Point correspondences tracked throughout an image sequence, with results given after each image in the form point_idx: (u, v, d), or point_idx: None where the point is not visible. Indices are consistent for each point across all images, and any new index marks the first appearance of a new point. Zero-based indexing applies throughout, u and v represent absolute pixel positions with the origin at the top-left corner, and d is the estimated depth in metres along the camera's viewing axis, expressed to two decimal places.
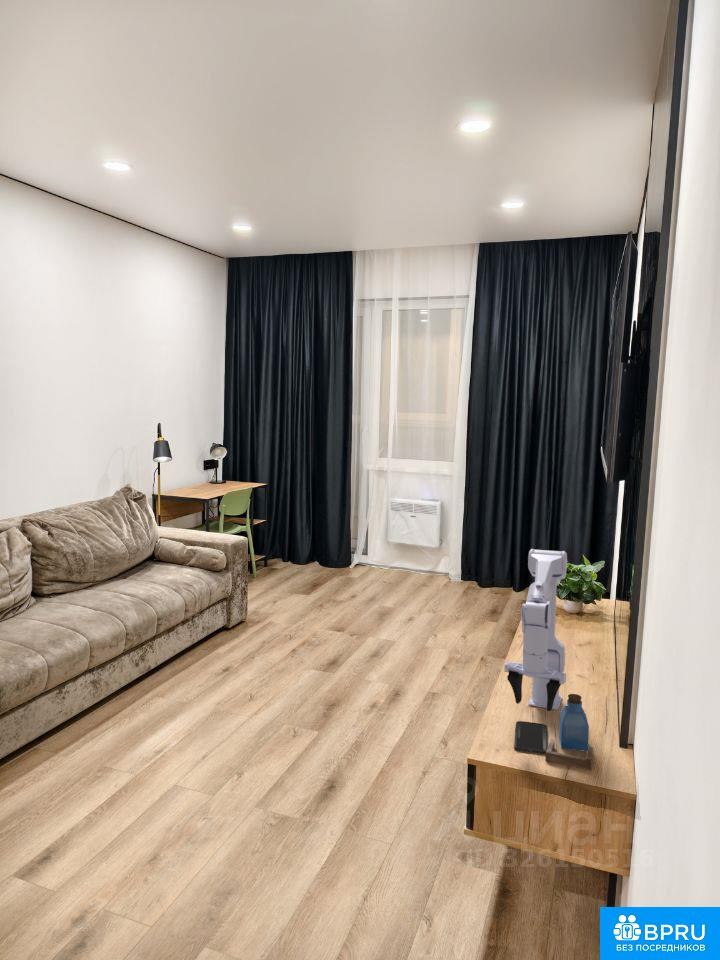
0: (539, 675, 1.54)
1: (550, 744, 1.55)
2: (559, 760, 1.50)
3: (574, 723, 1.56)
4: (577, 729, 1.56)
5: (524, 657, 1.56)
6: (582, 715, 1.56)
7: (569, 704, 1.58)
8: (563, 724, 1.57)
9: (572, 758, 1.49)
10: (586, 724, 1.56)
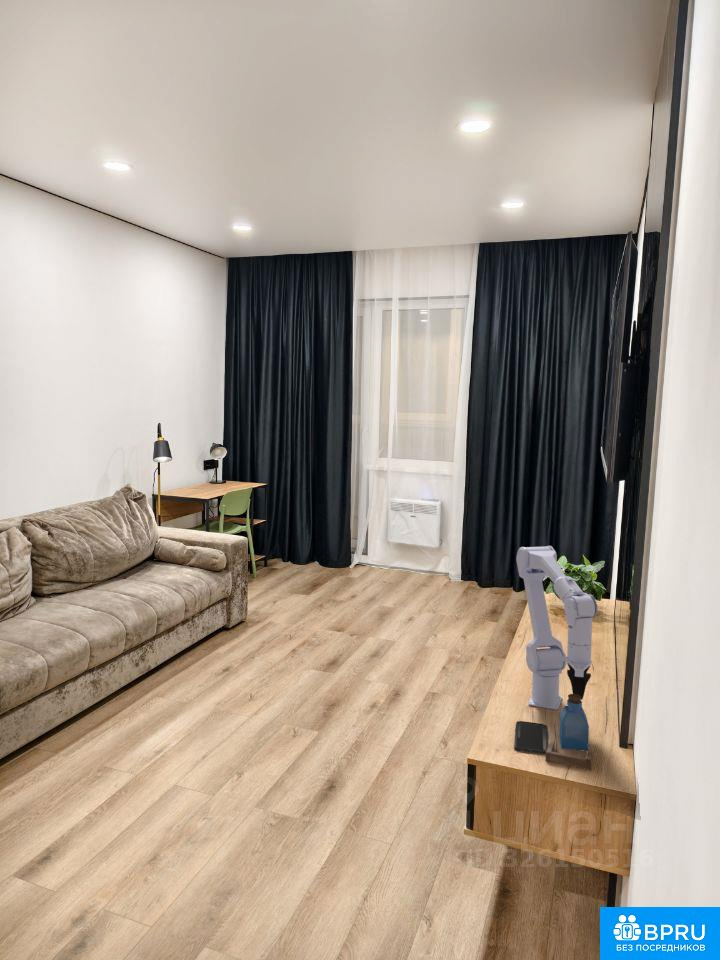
0: (568, 662, 1.64)
1: (550, 744, 1.55)
2: (559, 760, 1.50)
3: (574, 723, 1.56)
4: (577, 729, 1.56)
5: None
6: (582, 715, 1.56)
7: (569, 704, 1.58)
8: (563, 724, 1.57)
9: (572, 758, 1.49)
10: (586, 724, 1.56)
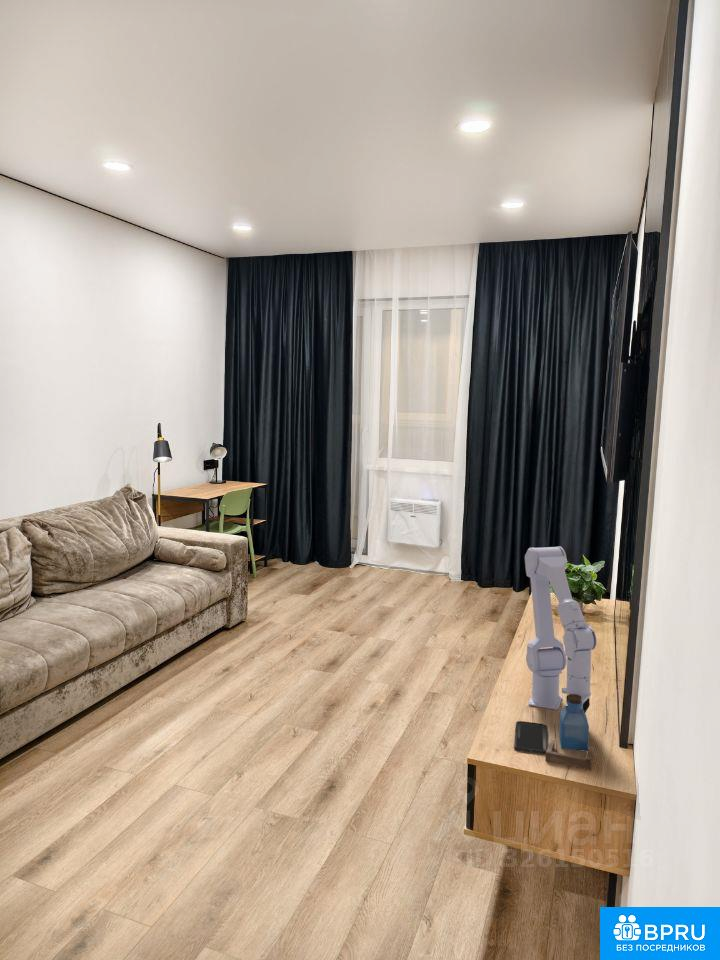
0: (567, 694, 1.65)
1: (550, 744, 1.55)
2: (559, 760, 1.50)
3: (574, 723, 1.56)
4: (577, 729, 1.56)
5: None
6: (582, 715, 1.56)
7: (569, 704, 1.58)
8: (563, 724, 1.57)
9: (572, 758, 1.49)
10: (586, 724, 1.56)
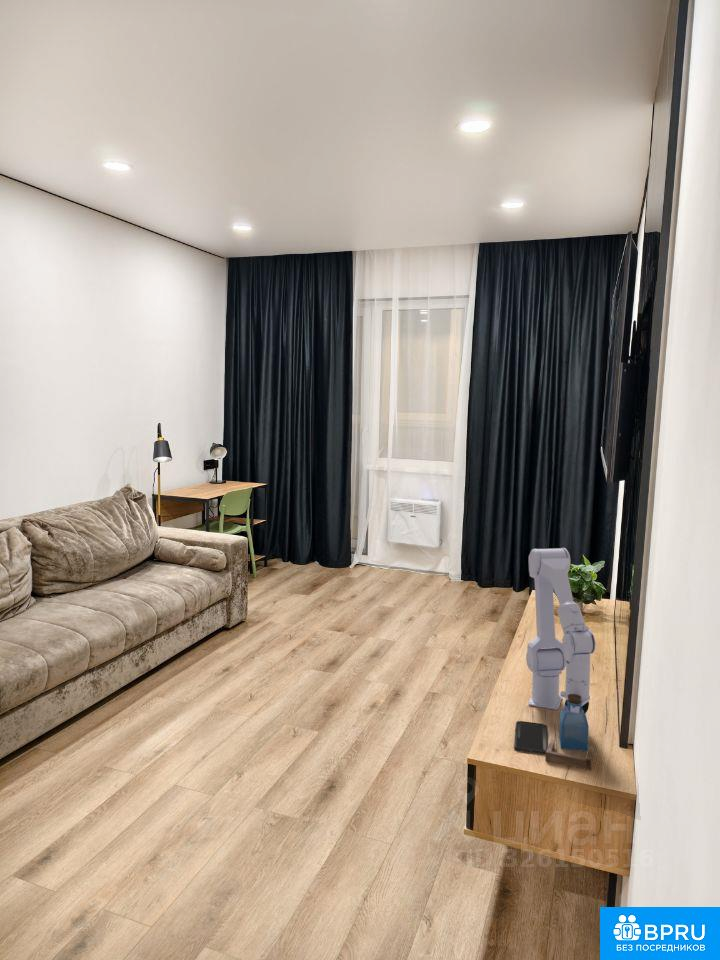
0: (565, 697, 1.63)
1: (550, 744, 1.55)
2: (559, 760, 1.50)
3: (573, 723, 1.56)
4: (577, 729, 1.56)
5: None
6: (582, 715, 1.56)
7: (569, 704, 1.58)
8: (563, 724, 1.57)
9: (572, 758, 1.49)
10: (586, 724, 1.56)
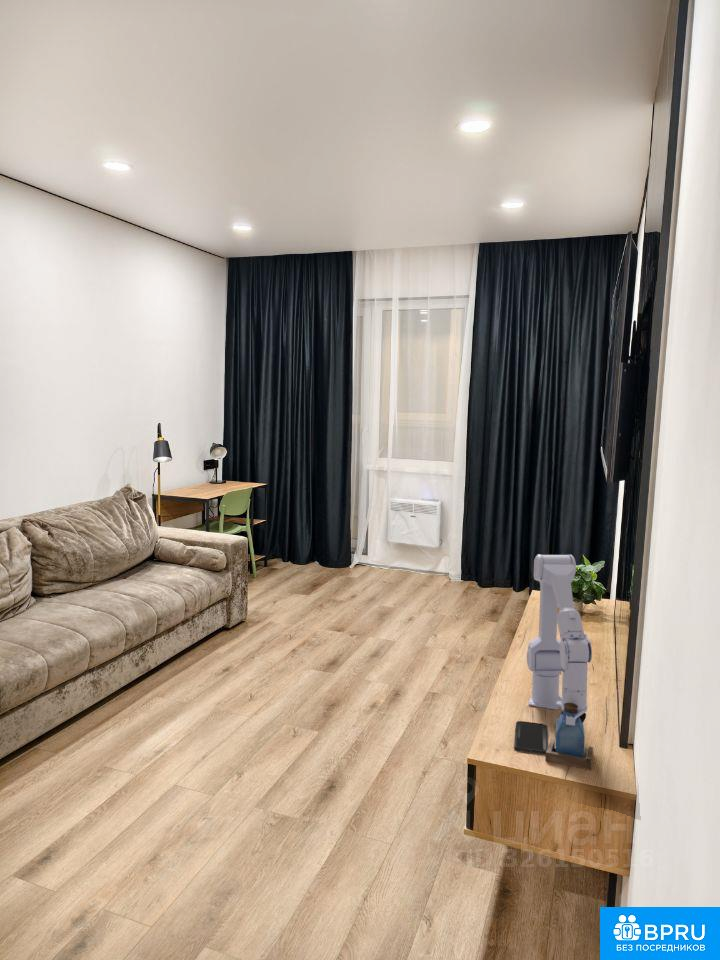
0: (562, 707, 1.57)
1: (550, 744, 1.55)
2: (559, 760, 1.50)
3: (569, 734, 1.51)
4: (573, 739, 1.51)
5: None
6: (578, 725, 1.51)
7: (565, 714, 1.53)
8: (558, 734, 1.52)
9: (572, 758, 1.49)
10: (582, 735, 1.50)
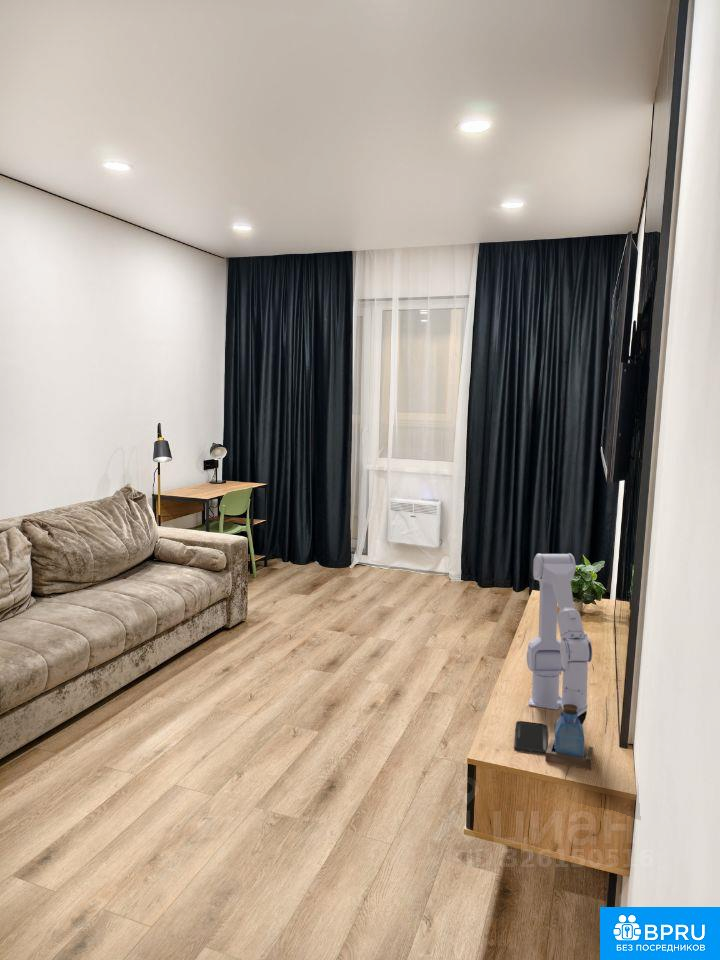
0: (562, 706, 1.58)
1: (550, 744, 1.55)
2: (559, 760, 1.50)
3: (568, 735, 1.50)
4: (572, 741, 1.50)
5: None
6: (577, 726, 1.51)
7: (564, 715, 1.52)
8: (557, 735, 1.51)
9: (572, 758, 1.49)
10: (581, 736, 1.50)
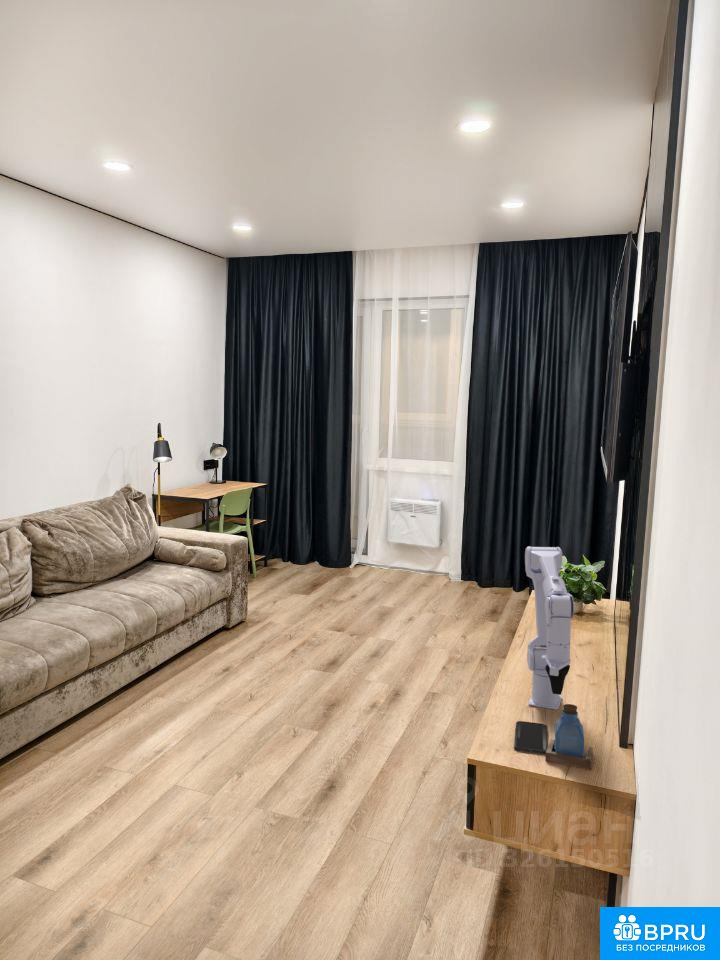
0: (546, 660, 1.65)
1: (550, 744, 1.55)
2: (559, 760, 1.50)
3: (568, 735, 1.50)
4: (572, 741, 1.50)
5: None
6: (577, 726, 1.51)
7: (564, 715, 1.52)
8: (557, 735, 1.51)
9: (572, 758, 1.49)
10: (581, 736, 1.50)
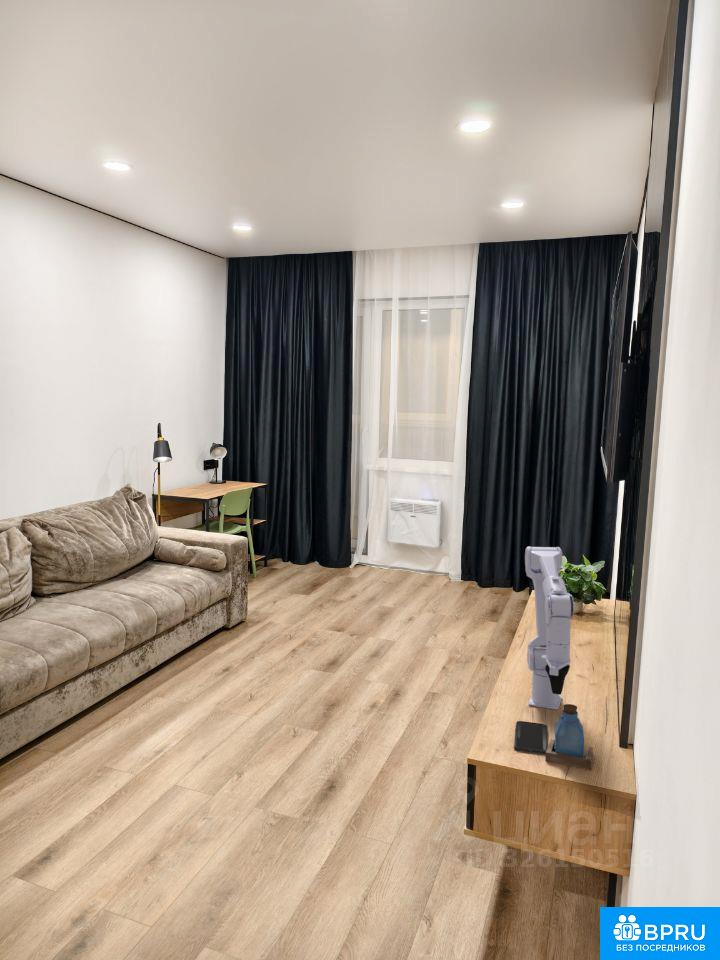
0: (546, 660, 1.65)
1: (550, 744, 1.55)
2: (559, 760, 1.50)
3: (568, 735, 1.50)
4: (572, 741, 1.50)
5: None
6: (577, 726, 1.51)
7: (564, 715, 1.52)
8: (557, 735, 1.51)
9: (572, 758, 1.49)
10: (581, 736, 1.50)
